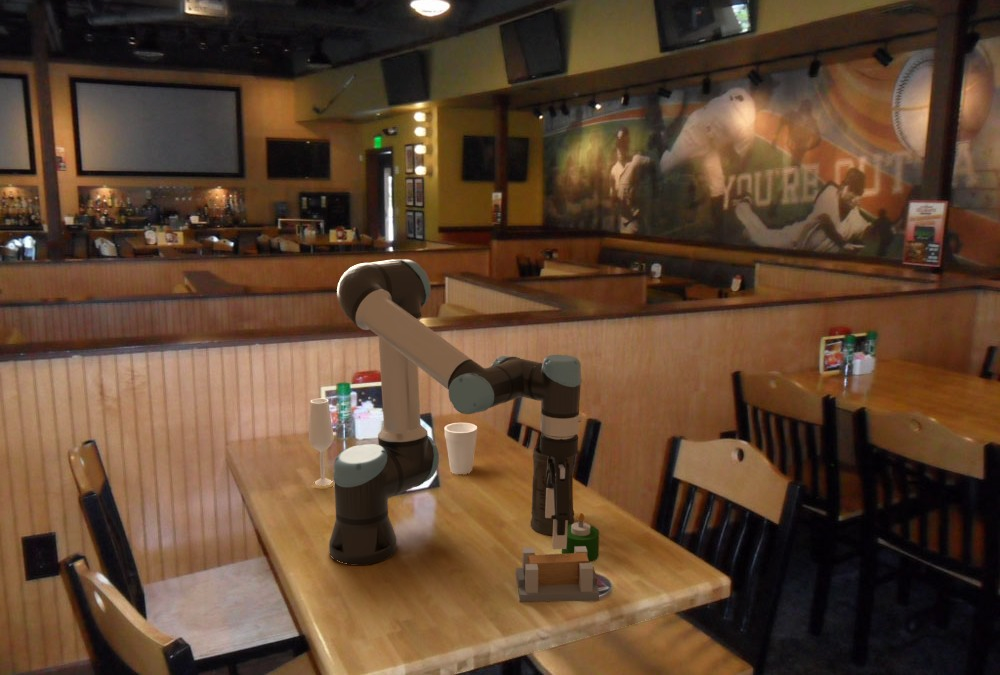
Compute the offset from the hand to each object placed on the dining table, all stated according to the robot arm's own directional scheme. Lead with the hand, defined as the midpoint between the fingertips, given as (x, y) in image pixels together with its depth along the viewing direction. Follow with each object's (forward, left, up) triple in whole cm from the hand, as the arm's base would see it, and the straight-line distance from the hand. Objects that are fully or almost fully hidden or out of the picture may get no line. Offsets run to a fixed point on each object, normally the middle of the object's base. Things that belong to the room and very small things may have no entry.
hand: (555, 532), depth 158 cm
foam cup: (-20, +66, -12) cm, 70 cm away
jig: (0, 0, -12) cm, 12 cm away
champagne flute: (-58, +57, -12) cm, 82 cm away
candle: (+7, +14, -12) cm, 20 cm away
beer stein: (+3, +31, -12) cm, 33 cm away
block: (+1, 0, -11) cm, 11 cm away
